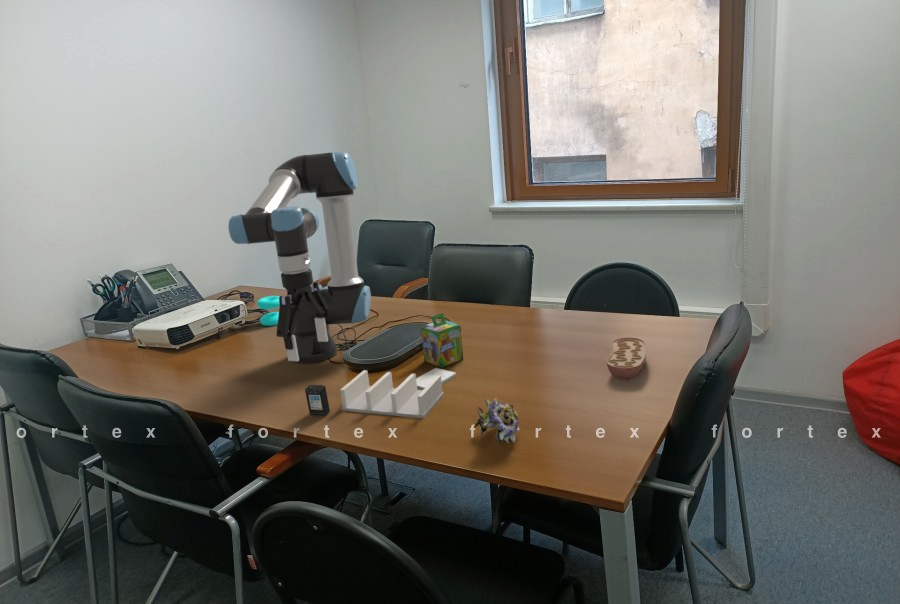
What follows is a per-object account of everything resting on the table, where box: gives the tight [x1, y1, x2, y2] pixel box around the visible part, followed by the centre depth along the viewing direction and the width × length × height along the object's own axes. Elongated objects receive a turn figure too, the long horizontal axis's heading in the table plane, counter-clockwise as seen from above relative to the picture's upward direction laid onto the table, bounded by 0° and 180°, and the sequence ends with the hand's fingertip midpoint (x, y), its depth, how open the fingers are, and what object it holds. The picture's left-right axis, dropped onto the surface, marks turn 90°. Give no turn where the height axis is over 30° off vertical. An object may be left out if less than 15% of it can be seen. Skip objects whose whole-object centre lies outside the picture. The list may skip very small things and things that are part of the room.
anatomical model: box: [606, 337, 648, 381], centre depth 178 cm, size 23×10×5 cm, turn 160°
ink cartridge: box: [304, 384, 331, 417], centre depth 167 cm, size 5×2×8 cm, turn 72°
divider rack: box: [339, 369, 445, 419], centre depth 170 cm, size 14×24×6 cm, turn 69°
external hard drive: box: [416, 367, 457, 390], centre depth 182 cm, size 2×8×12 cm
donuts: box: [256, 295, 281, 327], centre depth 249 cm, size 10×10×10 cm
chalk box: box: [420, 312, 464, 369], centre depth 194 cm, size 9×9×15 cm
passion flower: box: [473, 397, 521, 445], centre depth 146 cm, size 11×11×12 cm
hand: (309, 350), depth 163 cm, fingers open, 13 cm apart
